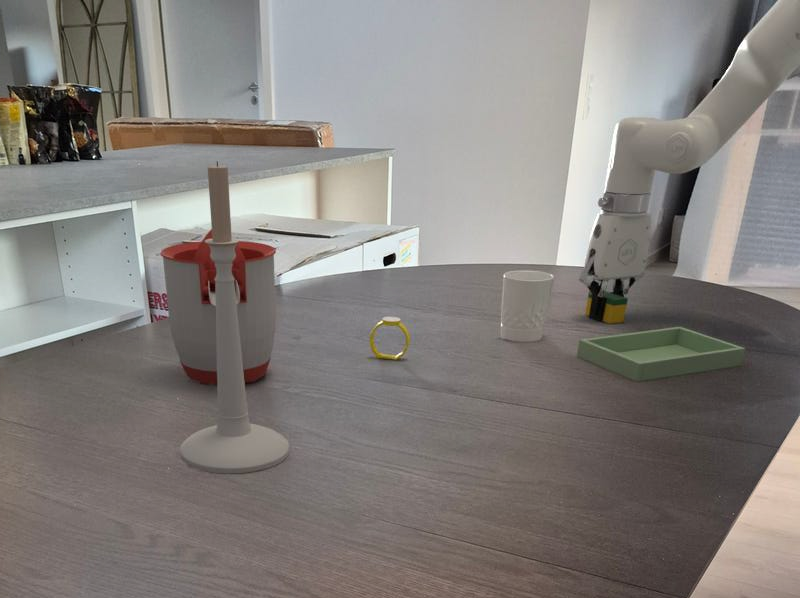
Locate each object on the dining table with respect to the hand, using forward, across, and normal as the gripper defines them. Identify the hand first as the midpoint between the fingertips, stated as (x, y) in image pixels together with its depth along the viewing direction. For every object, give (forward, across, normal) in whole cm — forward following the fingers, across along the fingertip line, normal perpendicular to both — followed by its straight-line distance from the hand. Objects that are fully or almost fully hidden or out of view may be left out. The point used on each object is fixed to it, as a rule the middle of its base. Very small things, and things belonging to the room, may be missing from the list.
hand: (604, 317), depth 152 cm
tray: (0, -11, -26) cm, 28 cm away
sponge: (0, 0, 0) cm, 0 cm away
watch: (+1, -47, -7) cm, 47 cm away
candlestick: (0, -81, -34) cm, 88 cm away
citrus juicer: (+1, -73, -6) cm, 73 cm away
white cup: (0, -22, -6) cm, 23 cm away
